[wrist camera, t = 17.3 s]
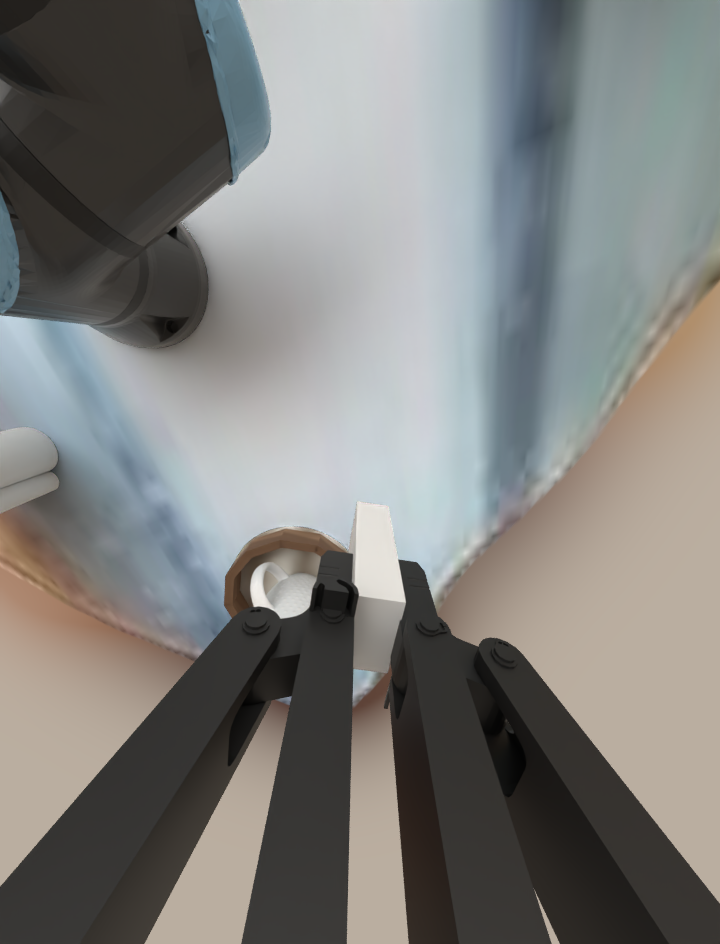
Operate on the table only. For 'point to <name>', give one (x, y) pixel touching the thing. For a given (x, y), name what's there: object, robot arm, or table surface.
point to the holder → (275, 561)
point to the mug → (282, 591)
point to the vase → (25, 466)
